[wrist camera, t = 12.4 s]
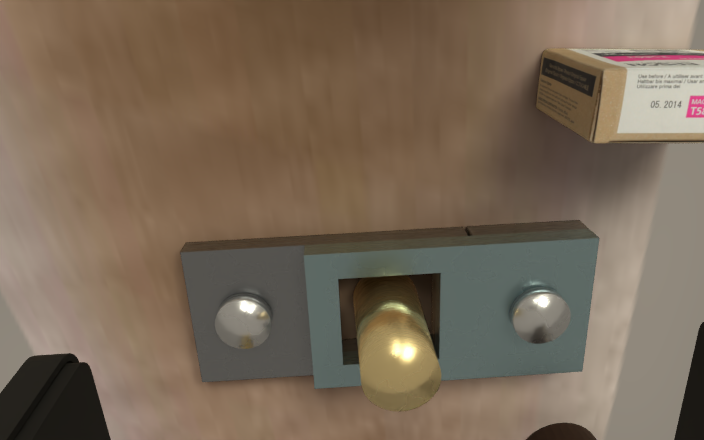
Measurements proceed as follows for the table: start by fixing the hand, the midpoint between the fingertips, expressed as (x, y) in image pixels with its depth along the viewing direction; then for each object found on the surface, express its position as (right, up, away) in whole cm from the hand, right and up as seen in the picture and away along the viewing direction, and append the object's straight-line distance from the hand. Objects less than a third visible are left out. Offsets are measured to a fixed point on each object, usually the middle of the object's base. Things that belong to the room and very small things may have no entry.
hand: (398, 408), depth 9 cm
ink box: (+15, +12, +26) cm, 32 cm away
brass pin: (+2, -2, +31) cm, 31 cm away
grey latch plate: (-2, -3, +31) cm, 31 cm away
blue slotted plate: (+5, -2, +31) cm, 31 cm away
